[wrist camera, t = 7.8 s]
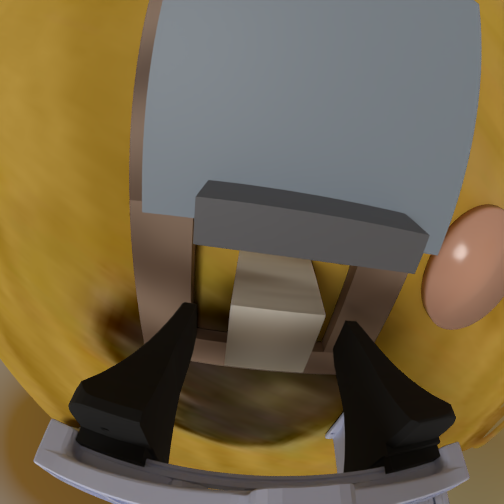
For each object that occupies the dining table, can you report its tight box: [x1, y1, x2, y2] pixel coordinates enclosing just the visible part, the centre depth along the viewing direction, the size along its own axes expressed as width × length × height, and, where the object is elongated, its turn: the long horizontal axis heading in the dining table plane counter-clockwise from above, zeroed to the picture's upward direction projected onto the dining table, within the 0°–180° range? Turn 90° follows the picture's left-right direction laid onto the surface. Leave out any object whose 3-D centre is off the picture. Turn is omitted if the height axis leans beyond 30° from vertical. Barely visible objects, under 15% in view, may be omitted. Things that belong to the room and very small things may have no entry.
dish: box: [421, 204, 504, 330], centre depth 15 cm, size 10×10×1 cm
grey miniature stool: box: [142, 0, 481, 274], centre depth 7 cm, size 10×10×6 cm
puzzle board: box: [129, 0, 408, 374], centre depth 14 cm, size 24×16×1 cm, turn 172°
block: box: [224, 250, 326, 373], centre depth 15 cm, size 4×4×5 cm
